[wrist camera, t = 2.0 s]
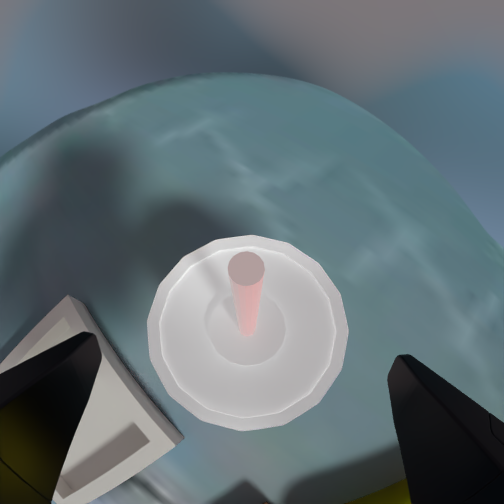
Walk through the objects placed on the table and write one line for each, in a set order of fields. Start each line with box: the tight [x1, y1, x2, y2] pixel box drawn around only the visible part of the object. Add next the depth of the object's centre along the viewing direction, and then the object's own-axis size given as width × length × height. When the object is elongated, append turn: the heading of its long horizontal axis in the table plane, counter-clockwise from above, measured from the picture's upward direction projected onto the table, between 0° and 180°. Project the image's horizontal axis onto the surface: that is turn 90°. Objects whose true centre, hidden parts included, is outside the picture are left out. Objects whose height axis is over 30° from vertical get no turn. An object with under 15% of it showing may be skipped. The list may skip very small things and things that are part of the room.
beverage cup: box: [147, 235, 349, 431], centre depth 10 cm, size 6×6×14 cm
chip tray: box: [0, 295, 184, 504], centre depth 13 cm, size 11×11×2 cm
